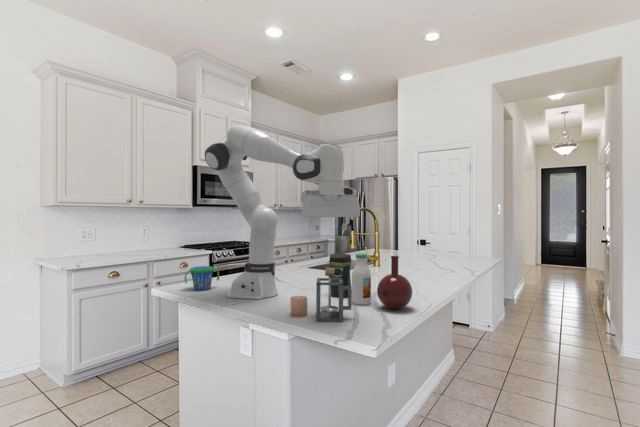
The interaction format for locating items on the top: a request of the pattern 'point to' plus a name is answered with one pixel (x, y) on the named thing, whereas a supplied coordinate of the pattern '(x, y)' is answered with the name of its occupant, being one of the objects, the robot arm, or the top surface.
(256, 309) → the top surface
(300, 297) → the wooden block
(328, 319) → the frame
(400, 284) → the round-bottom flask
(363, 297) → the milk bottle
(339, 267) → the coffee jar
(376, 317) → the top surface
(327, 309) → the plunger
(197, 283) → the snack cup
